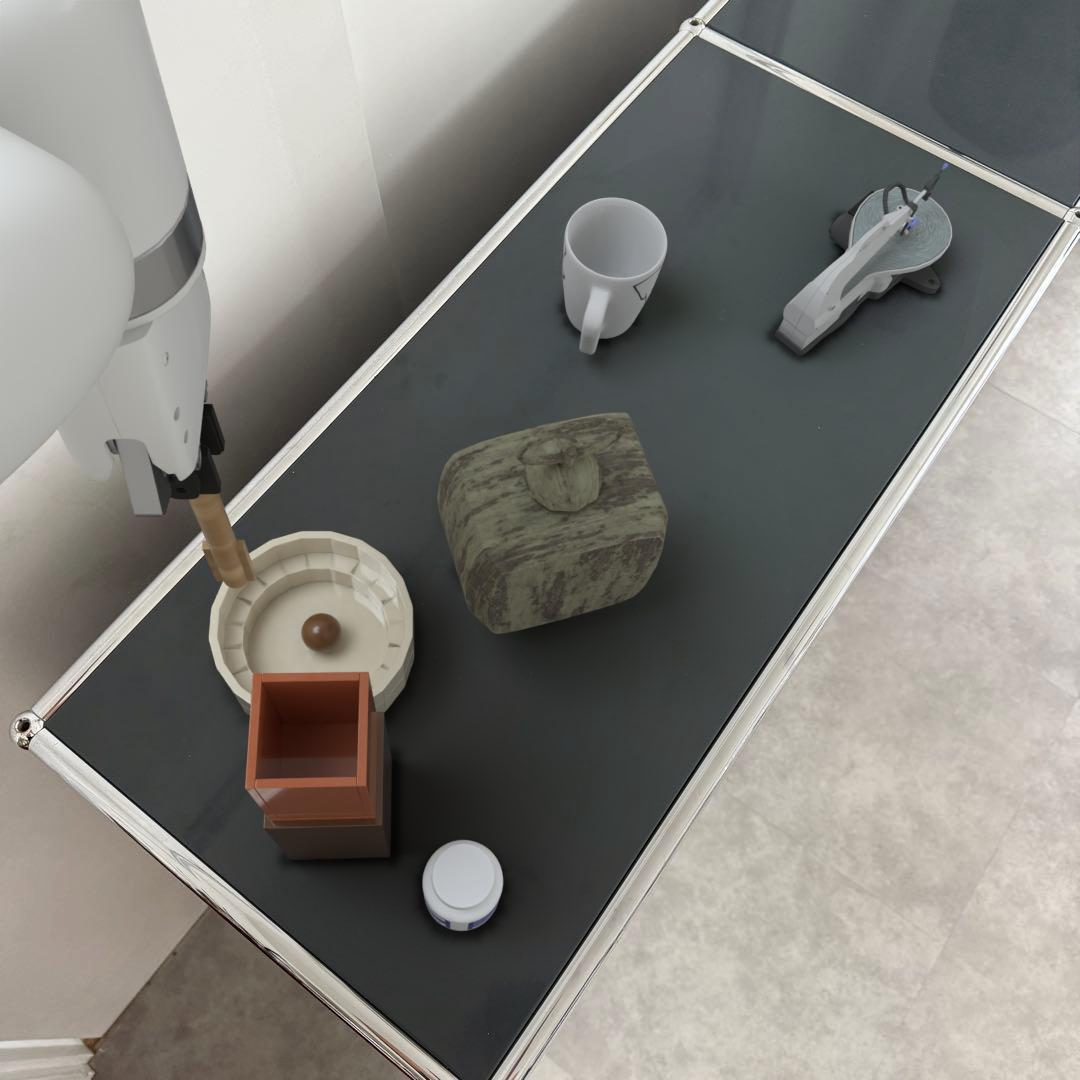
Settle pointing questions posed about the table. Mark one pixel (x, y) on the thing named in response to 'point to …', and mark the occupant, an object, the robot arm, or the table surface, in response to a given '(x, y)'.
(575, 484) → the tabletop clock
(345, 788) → the brown boxy piece
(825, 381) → the table surface
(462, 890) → the pill bottle
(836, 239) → the jigsaw machine
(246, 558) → the stirring stick
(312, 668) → the bowl
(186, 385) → the robot arm
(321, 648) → the brown ball
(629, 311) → the mug
